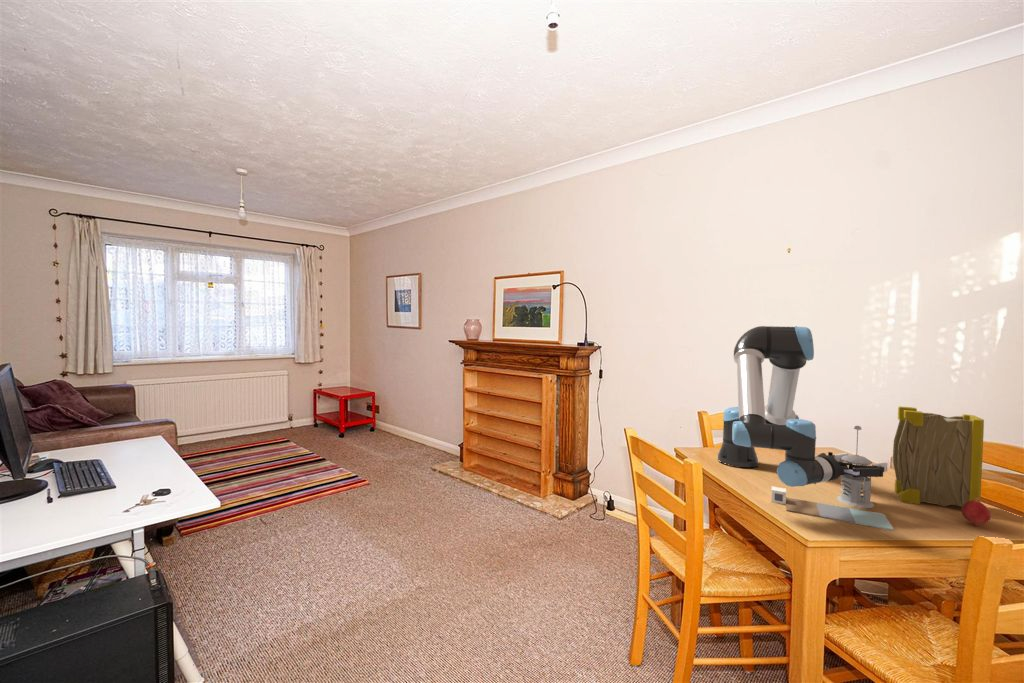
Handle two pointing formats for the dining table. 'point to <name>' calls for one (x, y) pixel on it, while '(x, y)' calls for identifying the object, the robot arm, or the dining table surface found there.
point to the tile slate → (835, 512)
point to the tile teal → (870, 519)
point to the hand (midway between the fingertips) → (865, 461)
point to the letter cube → (778, 495)
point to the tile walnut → (802, 507)
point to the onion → (976, 512)
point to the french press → (856, 483)
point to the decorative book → (938, 457)
